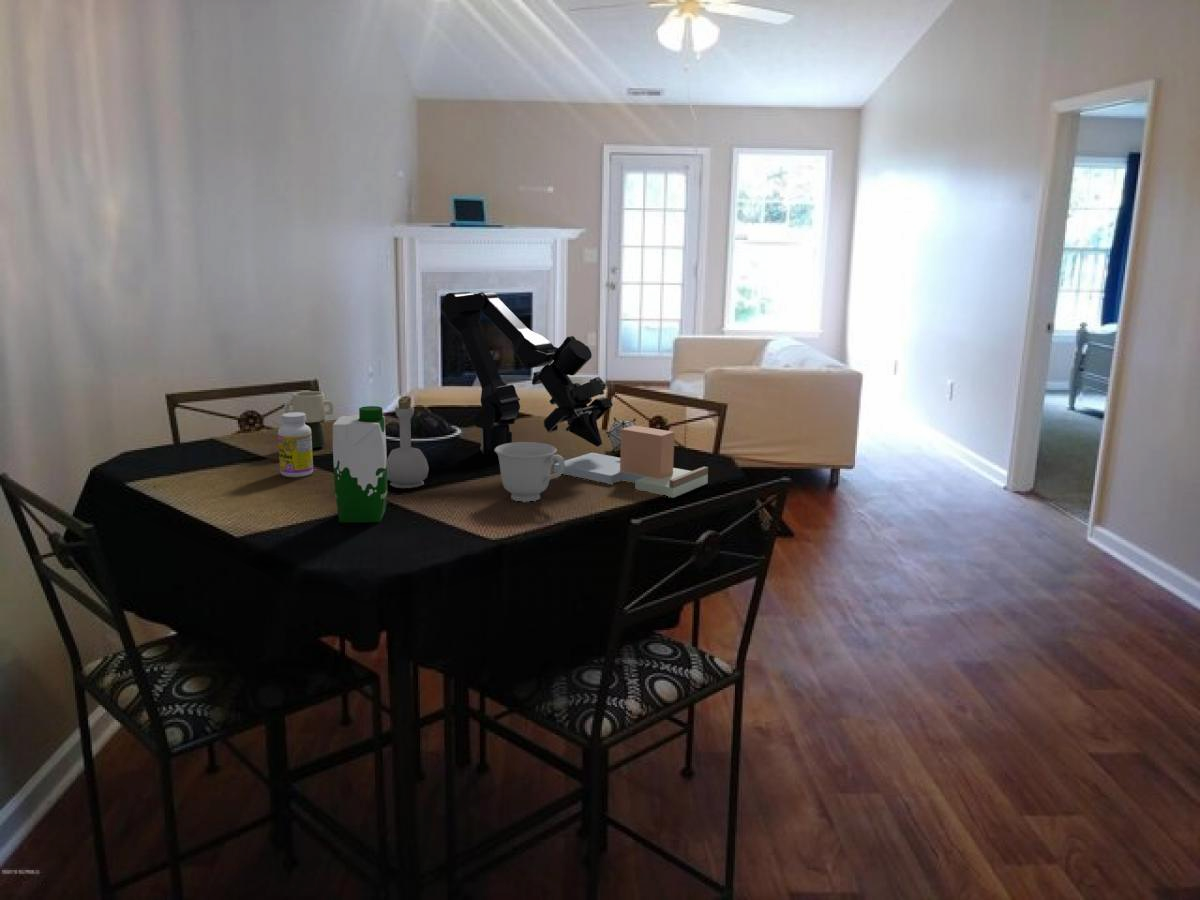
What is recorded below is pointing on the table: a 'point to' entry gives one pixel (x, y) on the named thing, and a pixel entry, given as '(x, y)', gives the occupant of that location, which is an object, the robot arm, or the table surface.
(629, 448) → the block
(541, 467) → the teacup
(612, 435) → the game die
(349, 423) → the milk carton
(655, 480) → the trap board
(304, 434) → the supplement bottle
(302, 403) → the character mug
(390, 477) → the potion bottle
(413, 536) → the table surface
